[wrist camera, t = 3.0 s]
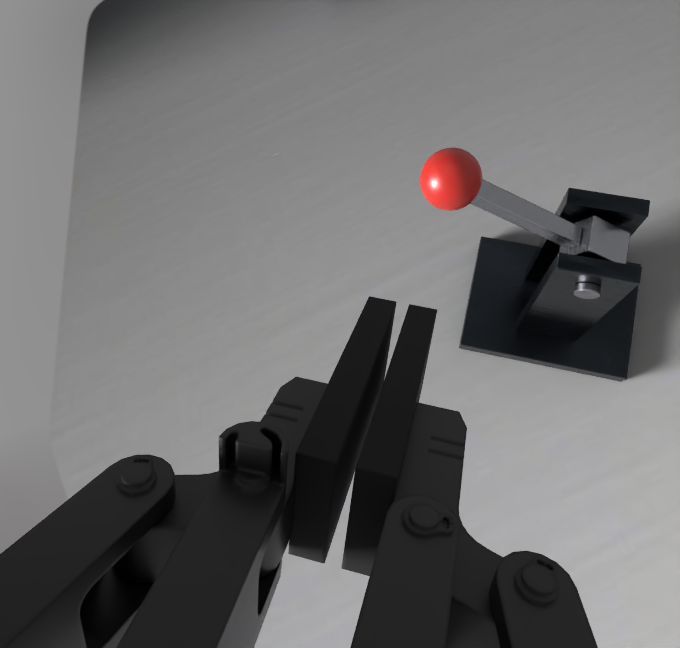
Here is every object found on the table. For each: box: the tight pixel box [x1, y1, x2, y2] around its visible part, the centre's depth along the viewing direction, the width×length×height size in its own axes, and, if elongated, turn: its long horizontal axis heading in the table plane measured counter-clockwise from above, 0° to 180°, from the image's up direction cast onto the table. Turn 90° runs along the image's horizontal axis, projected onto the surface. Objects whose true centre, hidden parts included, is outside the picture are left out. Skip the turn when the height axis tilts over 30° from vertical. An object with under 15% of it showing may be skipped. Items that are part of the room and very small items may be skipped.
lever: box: [420, 148, 630, 264], centre depth 33 cm, size 13×3×3 cm, turn 76°
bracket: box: [459, 188, 650, 381], centre depth 39 cm, size 12×9×14 cm
